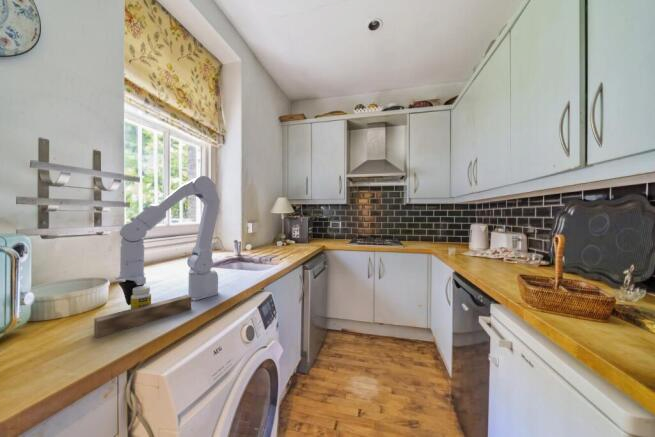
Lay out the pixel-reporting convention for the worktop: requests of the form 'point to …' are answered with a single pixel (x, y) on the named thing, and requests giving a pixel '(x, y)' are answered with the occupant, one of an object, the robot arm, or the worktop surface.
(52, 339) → the worktop surface
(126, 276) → the robot arm
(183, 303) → the walnut board
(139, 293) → the supplement bottle
